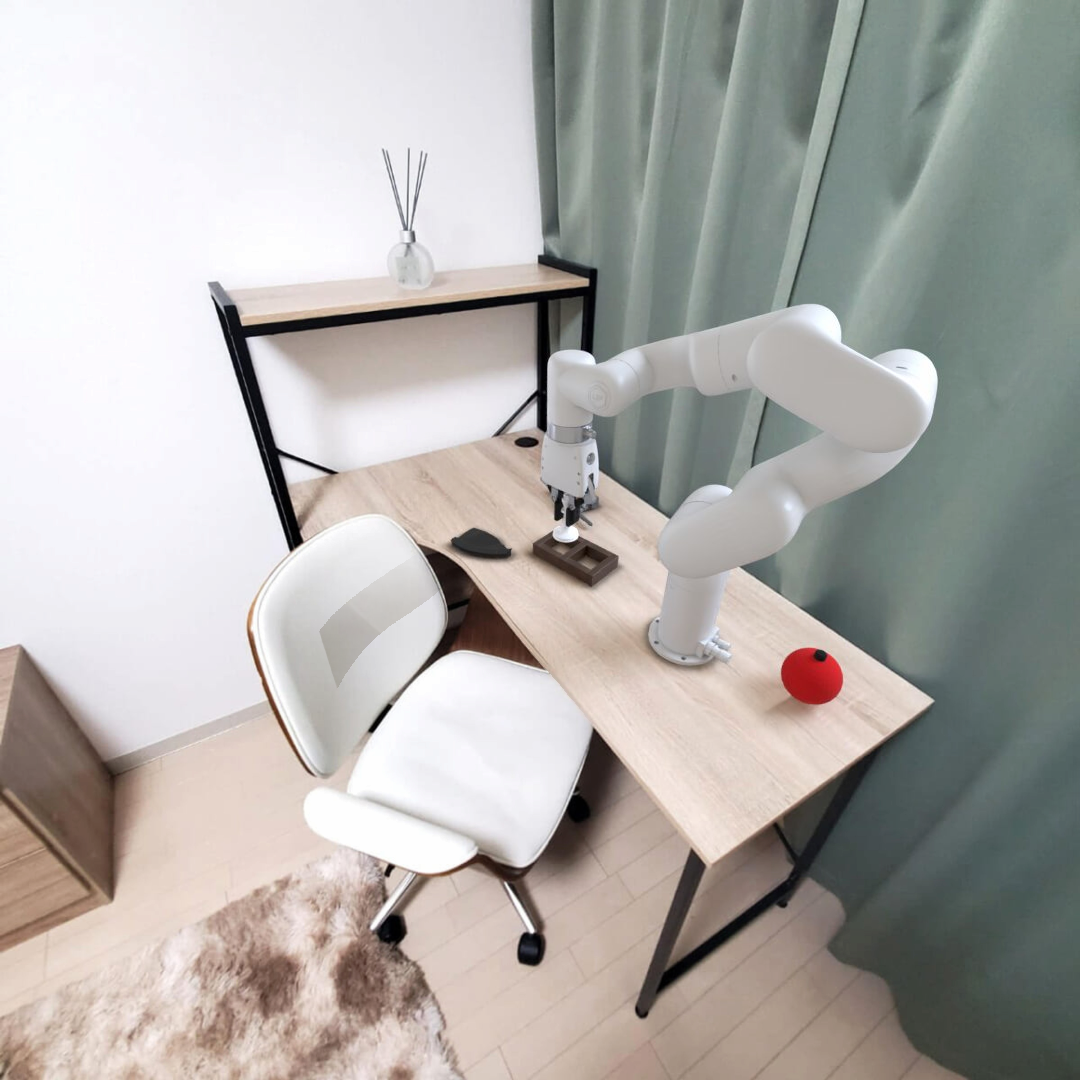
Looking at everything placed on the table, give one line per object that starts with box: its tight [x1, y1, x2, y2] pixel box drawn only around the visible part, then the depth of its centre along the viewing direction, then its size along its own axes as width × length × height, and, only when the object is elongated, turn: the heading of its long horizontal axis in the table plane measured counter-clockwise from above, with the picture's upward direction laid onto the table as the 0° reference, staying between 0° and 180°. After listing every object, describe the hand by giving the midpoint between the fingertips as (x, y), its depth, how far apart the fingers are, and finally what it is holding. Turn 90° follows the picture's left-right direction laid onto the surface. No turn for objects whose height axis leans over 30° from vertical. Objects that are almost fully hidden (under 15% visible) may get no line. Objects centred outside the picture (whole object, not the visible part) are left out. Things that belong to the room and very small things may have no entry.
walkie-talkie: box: [576, 494, 600, 527], centre depth 134 cm, size 9×4×20 cm
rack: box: [532, 530, 619, 588], centre depth 117 cm, size 17×9×3 cm, turn 47°
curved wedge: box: [450, 527, 513, 559], centre depth 120 cm, size 8×14×2 cm, turn 52°
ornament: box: [780, 647, 844, 706], centre depth 85 cm, size 9×9×10 cm
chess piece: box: [552, 493, 580, 543], centre depth 98 cm, size 5×5×10 cm
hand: (566, 520), depth 99 cm, fingers closed on chess piece
